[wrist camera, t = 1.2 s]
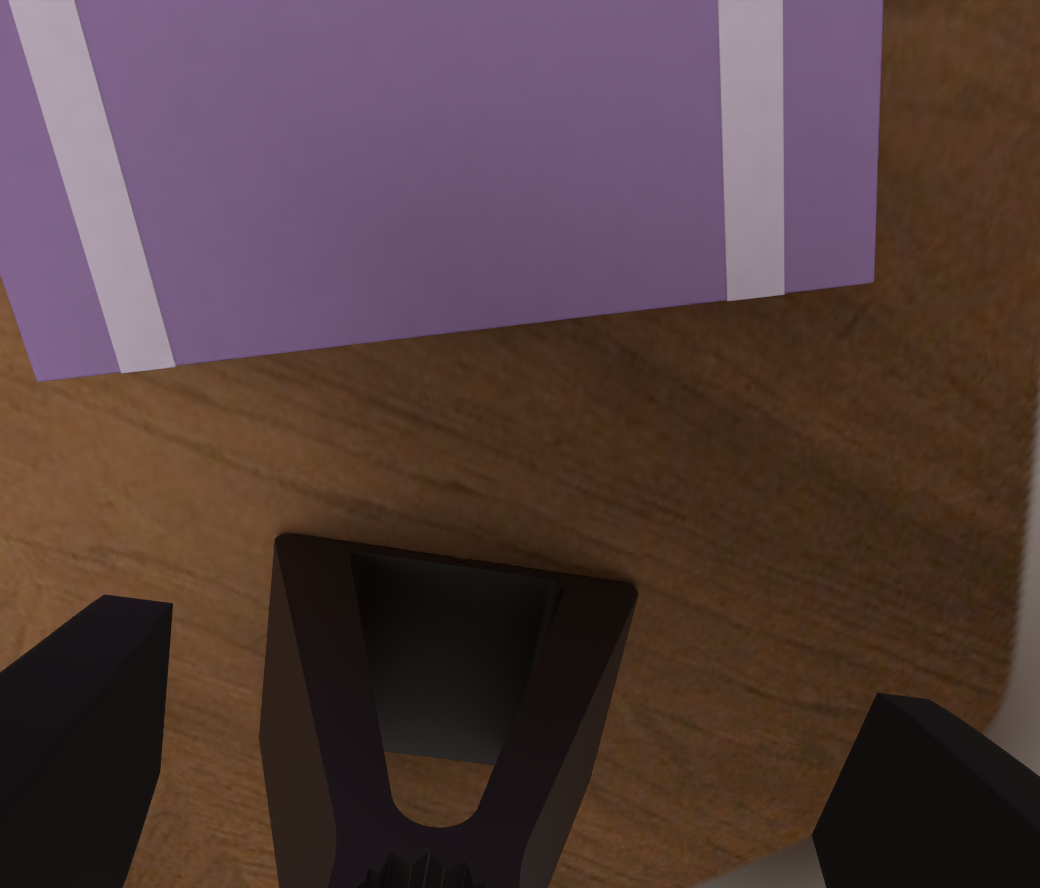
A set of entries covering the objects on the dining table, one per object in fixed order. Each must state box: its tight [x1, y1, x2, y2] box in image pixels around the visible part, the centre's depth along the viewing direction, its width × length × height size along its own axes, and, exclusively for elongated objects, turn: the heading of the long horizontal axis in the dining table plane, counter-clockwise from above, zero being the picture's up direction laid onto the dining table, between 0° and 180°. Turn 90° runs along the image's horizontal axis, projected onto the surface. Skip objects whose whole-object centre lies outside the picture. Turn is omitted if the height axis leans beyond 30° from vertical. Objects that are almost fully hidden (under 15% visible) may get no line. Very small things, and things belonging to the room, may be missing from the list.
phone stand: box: [259, 534, 638, 888], centre depth 17 cm, size 9×6×12 cm, turn 80°
